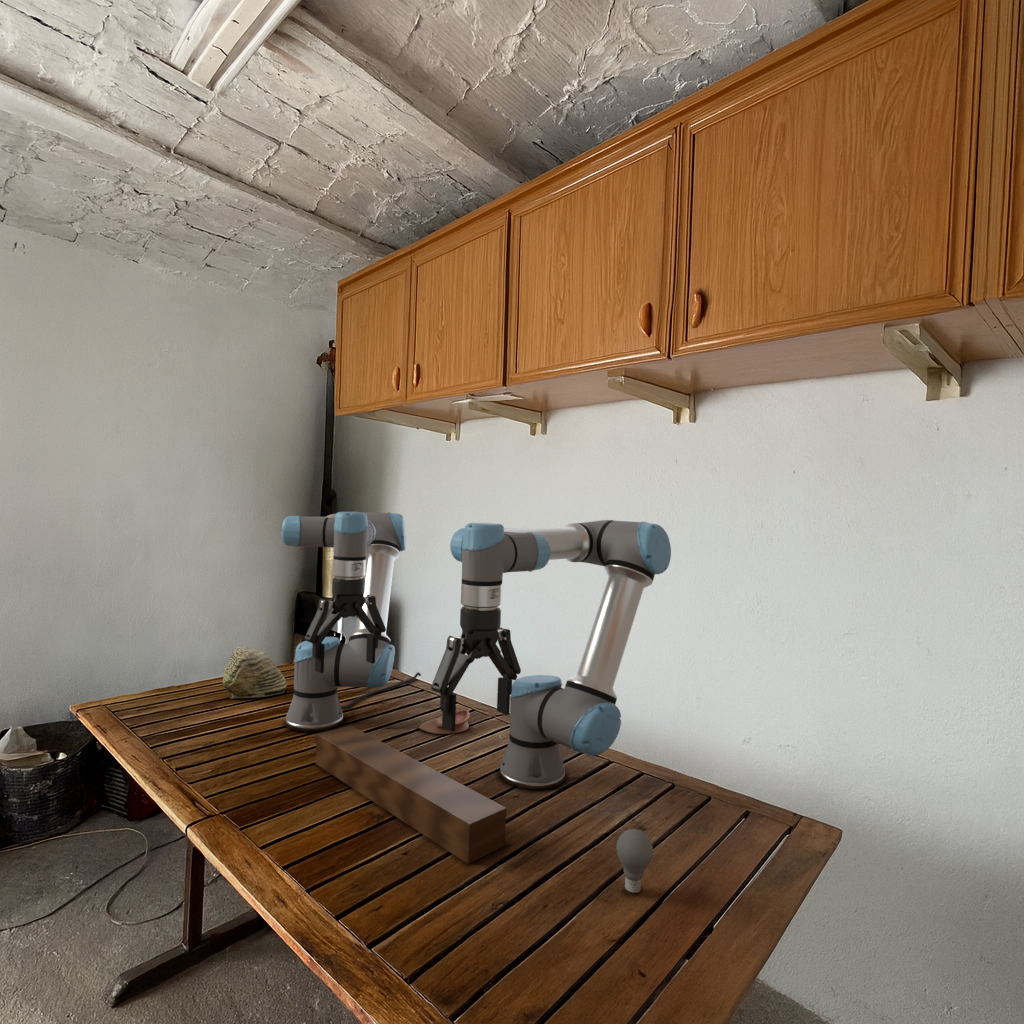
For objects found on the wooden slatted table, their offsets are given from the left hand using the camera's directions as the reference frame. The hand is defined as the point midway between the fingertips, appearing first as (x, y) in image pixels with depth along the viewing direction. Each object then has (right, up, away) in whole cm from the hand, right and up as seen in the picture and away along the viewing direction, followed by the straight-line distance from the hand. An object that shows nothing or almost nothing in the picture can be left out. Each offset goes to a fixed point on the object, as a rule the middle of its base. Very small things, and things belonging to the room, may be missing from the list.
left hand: (345, 666), depth 150 cm
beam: (+15, -24, -16) cm, 33 cm away
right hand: (+33, -2, -32) cm, 46 cm away
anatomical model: (+20, -24, +27) cm, 42 cm away
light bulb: (+59, -27, -44) cm, 79 cm away
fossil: (-41, -21, +48) cm, 67 cm away
